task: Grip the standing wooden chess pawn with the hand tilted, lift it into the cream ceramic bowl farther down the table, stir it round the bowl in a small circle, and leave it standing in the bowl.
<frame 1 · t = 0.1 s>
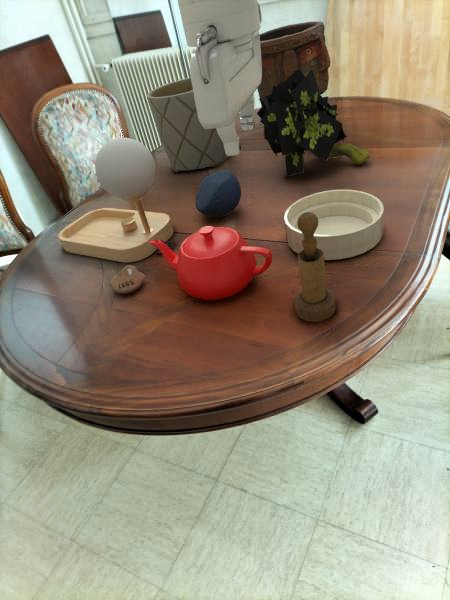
hand: (242, 140, 56), 29 cm above the table, tool pointing down, fingers open, 8 cm apart
bowl: (333, 236, 87), on the table
planter: (201, 162, 140), on the table
oil lamp: (132, 285, 89), on the table
clay pot: (297, 130, 146), on the table
decorative stone: (222, 214, 106), on the table
potted plant: (316, 169, 116), on the table
teapot: (216, 283, 83), on the table
lamp: (123, 240, 106), on the table
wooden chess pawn: (315, 310, 71), on the table
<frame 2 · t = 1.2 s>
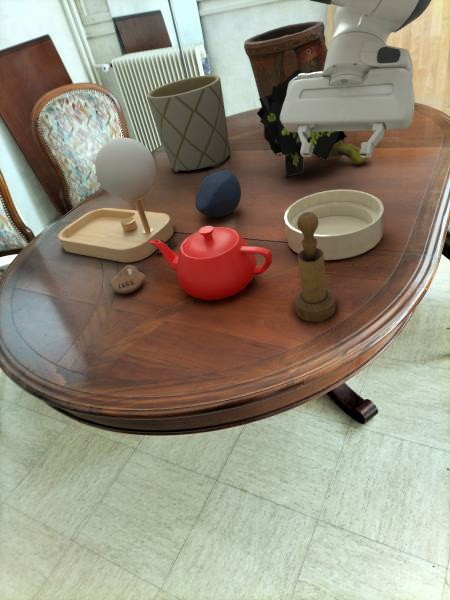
hand: (334, 156, 65), 22 cm above the table, tool tilted 45°, fingers open, 8 cm apart
nothing on the table moved.
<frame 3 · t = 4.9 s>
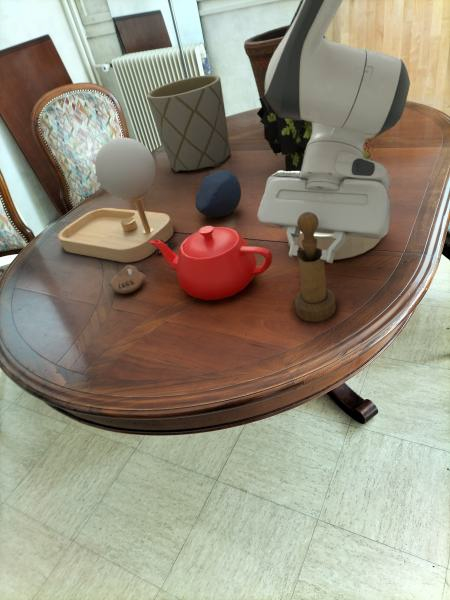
hand: (310, 259, 64), 10 cm above the table, tool tilted 45°, fingers closed on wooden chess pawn, 4 cm apart
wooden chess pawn: (315, 310, 71), on the table, touching gripper
everything else where it was.
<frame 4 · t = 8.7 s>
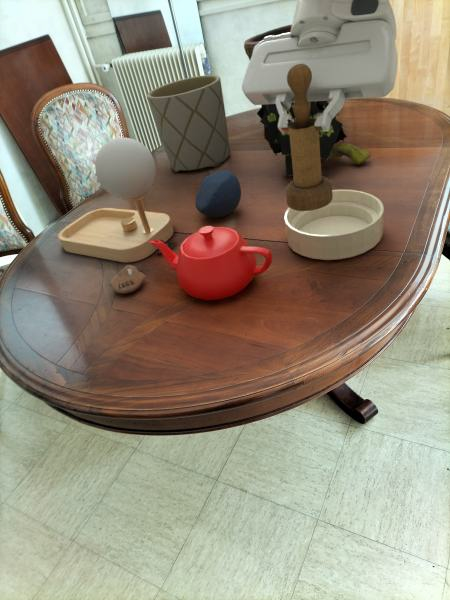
hand: (302, 130, 55), 29 cm above the table, tool tilted 45°, fingers closed on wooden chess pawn, 4 cm apart
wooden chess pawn: (309, 201, 62), point 18 cm above the table, touching gripper
everything else where it was.
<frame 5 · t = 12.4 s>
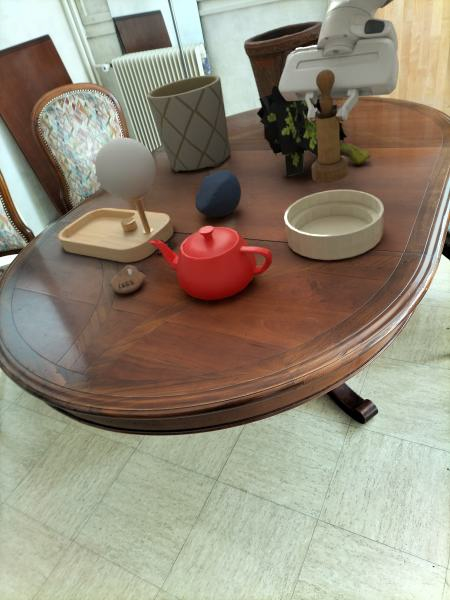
hand: (326, 119, 72), 24 cm above the table, tool tilted 45°, fingers closed on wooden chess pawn, 4 cm apart
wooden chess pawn: (330, 176, 79), point 13 cm above the table, touching gripper
everything else where it was.
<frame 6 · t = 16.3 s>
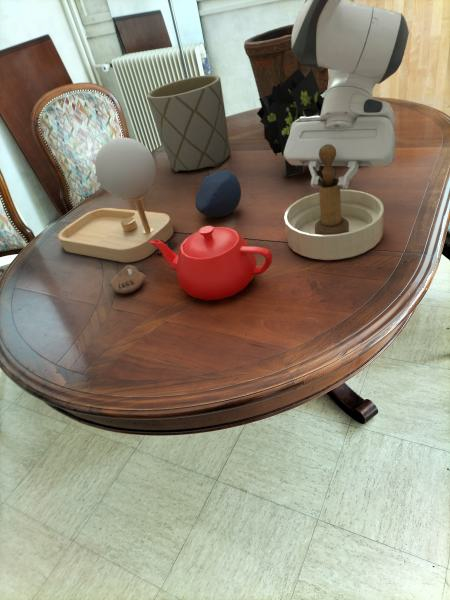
hand: (328, 187, 77), 12 cm above the table, tool tilted 45°, fingers closed on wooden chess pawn, 4 cm apart
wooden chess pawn: (332, 235, 84), point 2 cm above the table, touching gripper
everything else where it was.
when the fingers open (11 cm above the table, at t = 19.8 s): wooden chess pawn stays where it is, resting on bowl.
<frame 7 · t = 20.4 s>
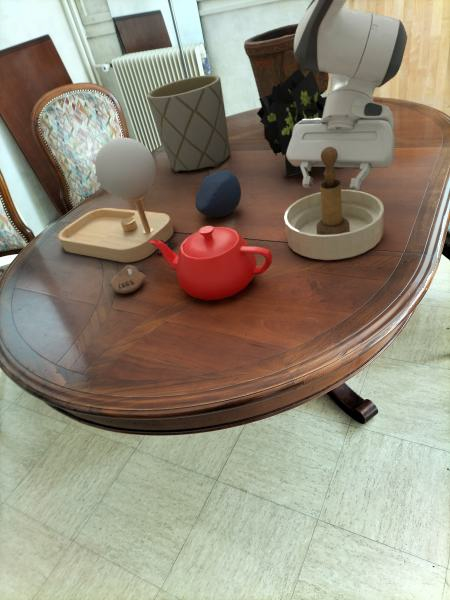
hand: (329, 187, 80), 11 cm above the table, tool tilted 45°, fingers open, 8 cm apart
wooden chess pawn: (333, 234, 87), point 1 cm above the table, touching bowl
everything else where it was.
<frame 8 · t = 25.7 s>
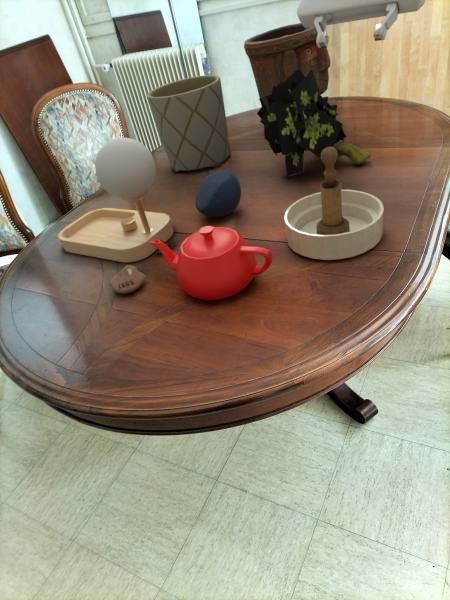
hand: (349, 42, 68), 34 cm above the table, tool tilted 45°, fingers open, 8 cm apart
nothing on the table moved.
at the end: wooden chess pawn inside the target area in the bowl (0.2 cm from its centre), point 0.6 cm above the bowl's base; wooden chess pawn tilted 0°; the gripper is holding nothing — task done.
